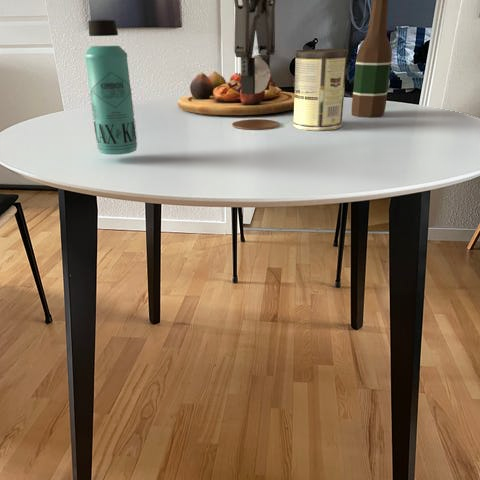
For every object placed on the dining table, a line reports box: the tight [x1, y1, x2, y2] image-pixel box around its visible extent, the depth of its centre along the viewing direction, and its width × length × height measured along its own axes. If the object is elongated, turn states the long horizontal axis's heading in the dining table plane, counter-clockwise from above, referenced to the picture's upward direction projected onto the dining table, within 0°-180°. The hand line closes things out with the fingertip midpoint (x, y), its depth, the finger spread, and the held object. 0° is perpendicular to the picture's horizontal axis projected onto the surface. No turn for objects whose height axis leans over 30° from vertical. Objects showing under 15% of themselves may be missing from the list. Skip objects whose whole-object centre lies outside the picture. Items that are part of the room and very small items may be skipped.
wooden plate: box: [177, 71, 295, 116], centre depth 126 cm, size 32×32×8 cm
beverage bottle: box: [84, 18, 139, 156], centre depth 77 cm, size 6×7×20 cm
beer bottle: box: [351, 0, 393, 118], centre depth 110 cm, size 8×8×24 cm
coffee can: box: [292, 48, 349, 132], centre depth 101 cm, size 10×10×14 cm
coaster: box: [232, 118, 280, 131], centre depth 107 cm, size 10×10×1 cm
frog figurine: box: [252, 54, 272, 93], centre depth 102 cm, size 6×7×7 cm
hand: (255, 91), depth 103 cm, fingers closed on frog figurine, 6 cm apart
